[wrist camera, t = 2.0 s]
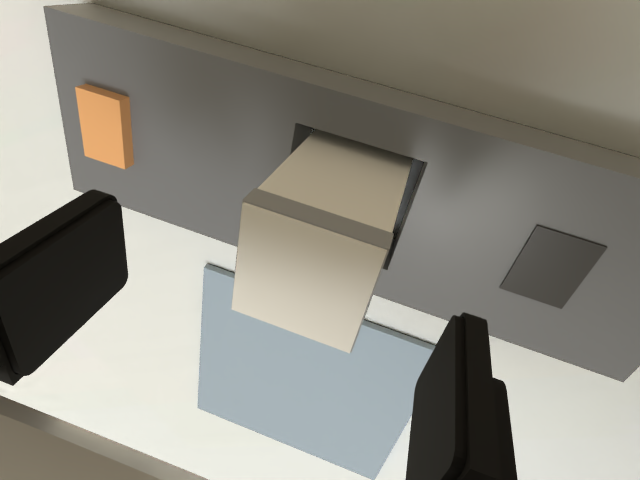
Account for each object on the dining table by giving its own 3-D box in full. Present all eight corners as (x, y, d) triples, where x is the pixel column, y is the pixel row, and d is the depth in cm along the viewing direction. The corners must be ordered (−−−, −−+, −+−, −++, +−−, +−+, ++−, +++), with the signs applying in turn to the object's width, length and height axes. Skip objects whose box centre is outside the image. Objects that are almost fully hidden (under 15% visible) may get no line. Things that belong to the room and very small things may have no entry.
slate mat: (446, 349, 22) (446, 355, 22) (375, 475, 30) (374, 480, 30) (207, 263, 24) (204, 267, 24) (200, 403, 32) (197, 408, 32)
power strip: (741, 186, 14) (799, 230, 12) (606, 339, 19) (628, 394, 17) (91, 3, 18) (30, 7, 15) (109, 170, 22) (64, 194, 20)
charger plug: (417, 147, 17) (389, 251, 11) (389, 228, 19) (350, 355, 13) (323, 118, 18) (240, 201, 11) (306, 201, 20) (229, 309, 13)
